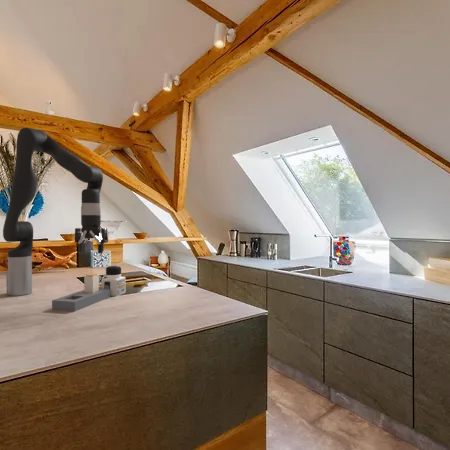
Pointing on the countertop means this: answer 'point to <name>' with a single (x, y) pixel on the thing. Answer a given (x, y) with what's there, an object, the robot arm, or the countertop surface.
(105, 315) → the countertop surface
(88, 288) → the plug peg
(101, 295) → the panel
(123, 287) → the container
